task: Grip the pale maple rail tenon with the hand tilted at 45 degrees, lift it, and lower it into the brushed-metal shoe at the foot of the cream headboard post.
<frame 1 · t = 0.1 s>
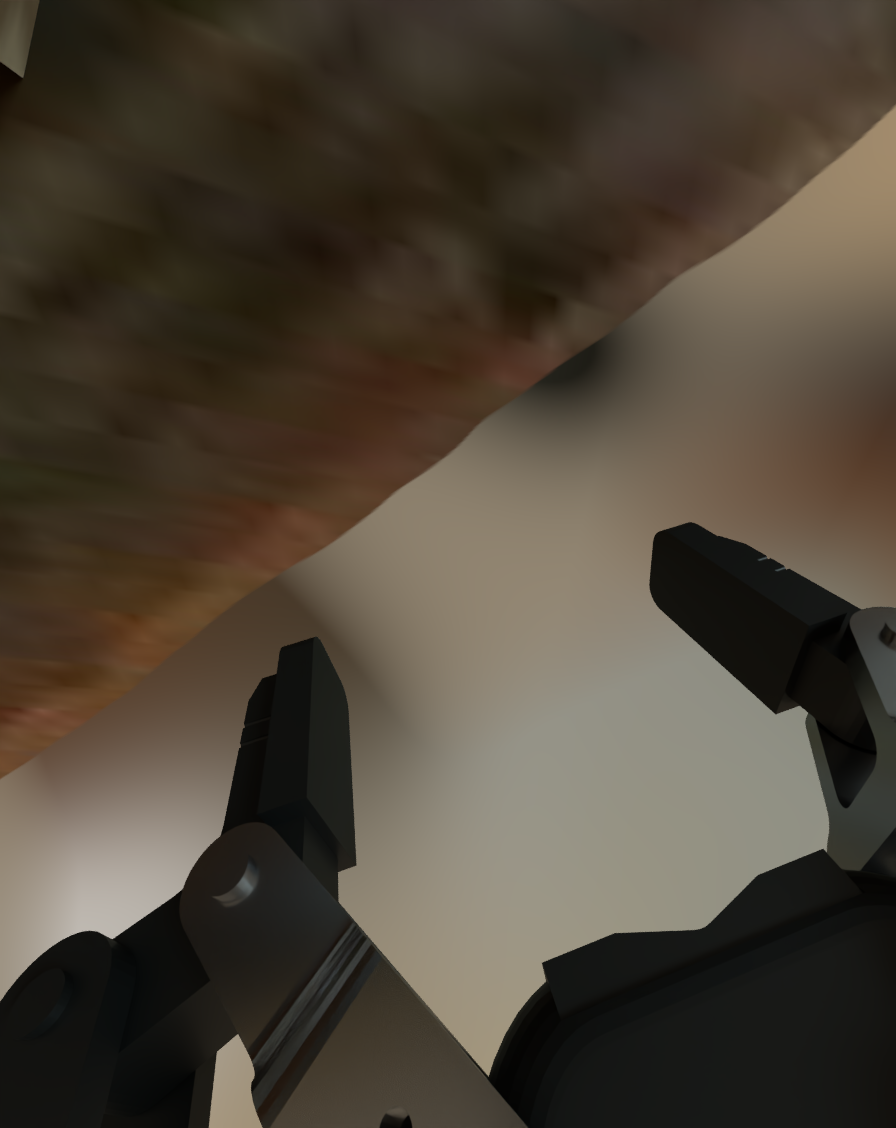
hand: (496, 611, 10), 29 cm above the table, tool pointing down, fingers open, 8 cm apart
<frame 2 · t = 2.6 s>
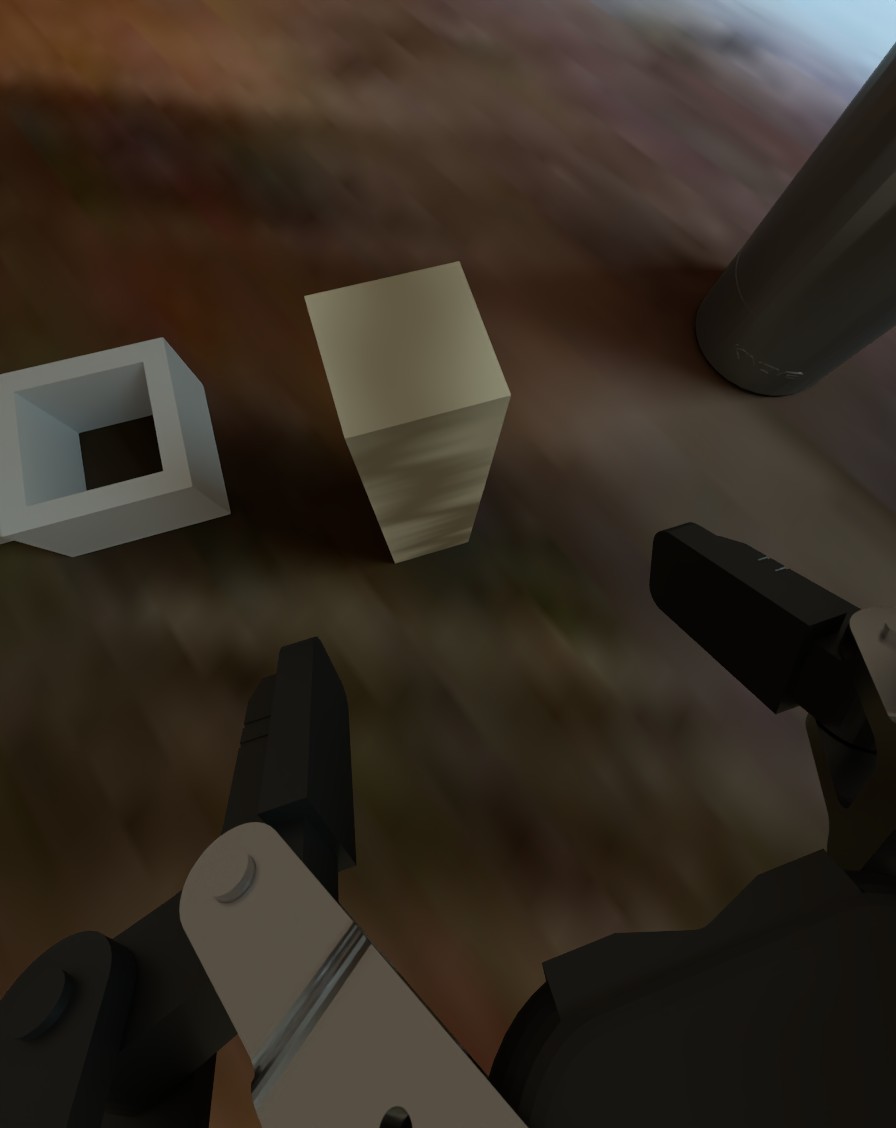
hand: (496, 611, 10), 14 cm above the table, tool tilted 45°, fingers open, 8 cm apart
headboard post: (141, 466, 25), on the table
rail tenon: (421, 517, 25), on the table
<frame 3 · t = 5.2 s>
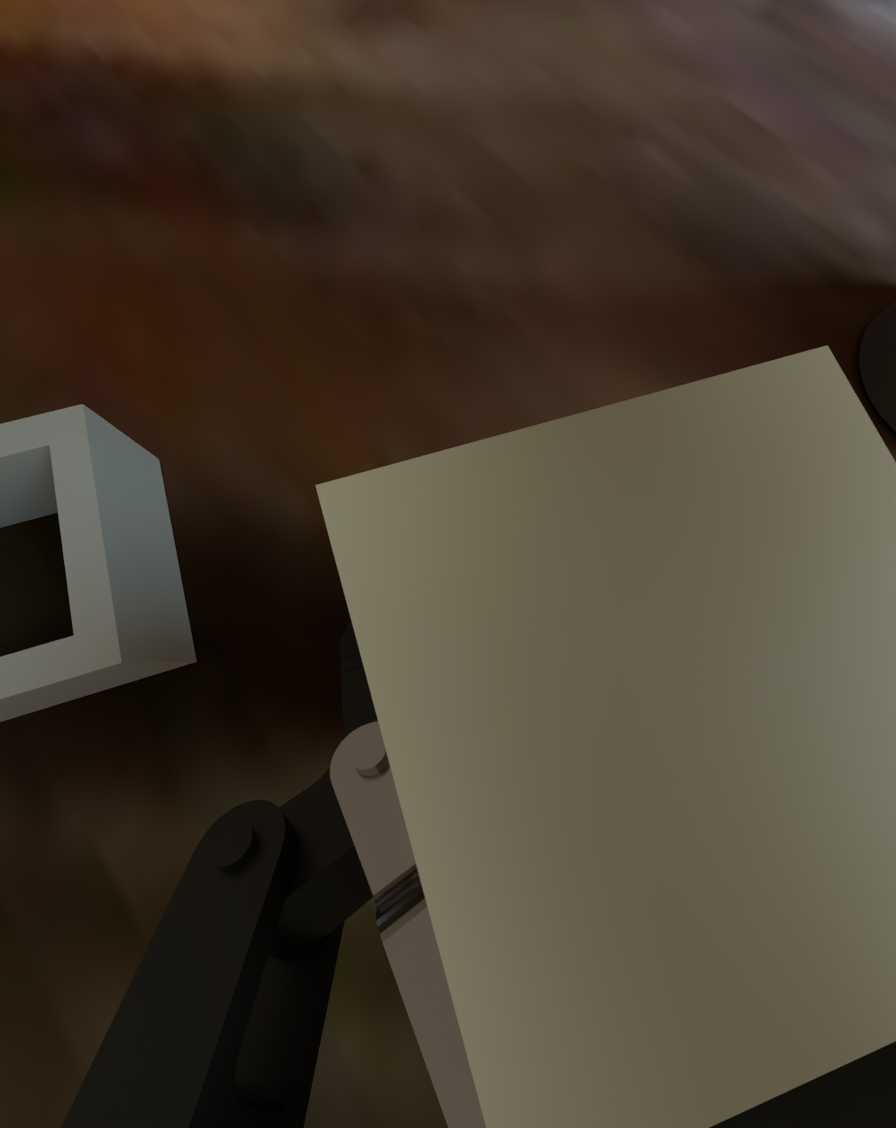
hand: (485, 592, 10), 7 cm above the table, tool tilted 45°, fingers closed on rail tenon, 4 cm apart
headboard post: (63, 587, 17), on the table
rail tenon: (481, 664, 17), on the table, touching gripper
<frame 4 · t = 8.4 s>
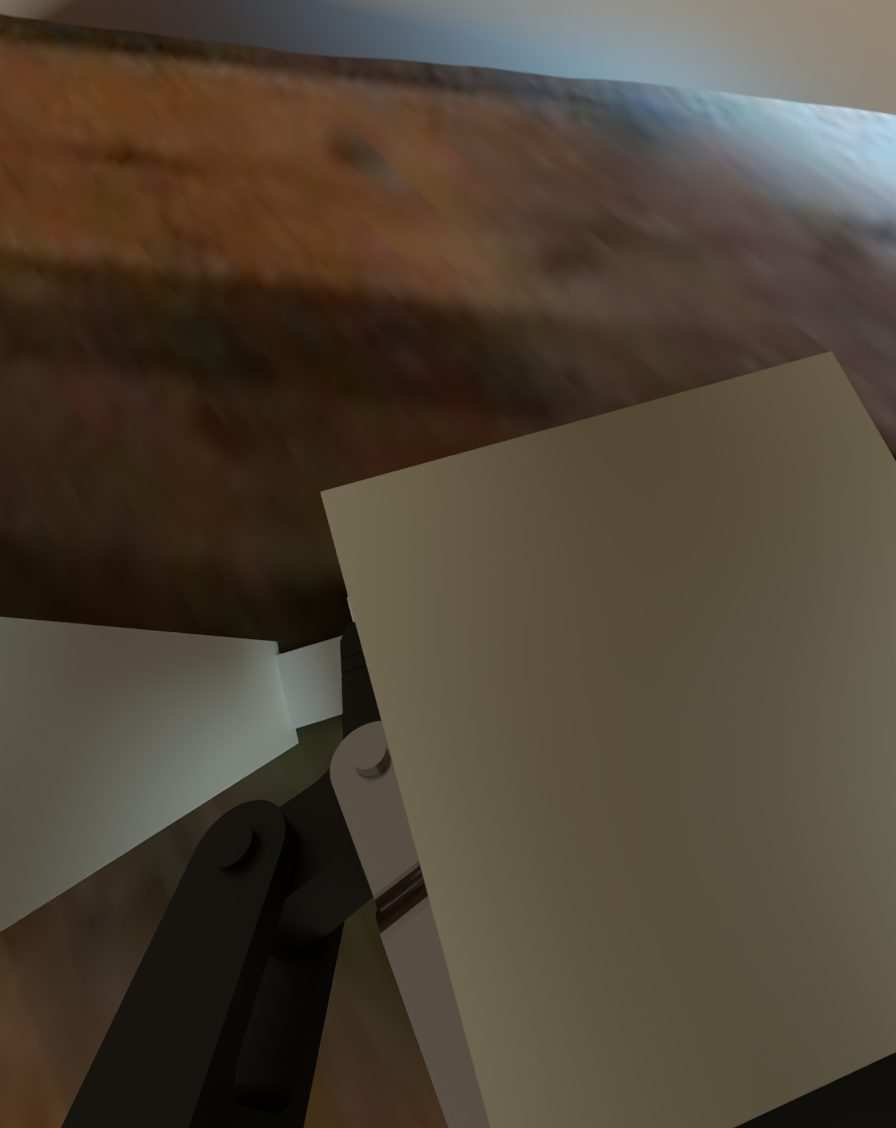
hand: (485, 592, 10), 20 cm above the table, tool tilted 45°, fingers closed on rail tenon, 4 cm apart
headboard post: (433, 646, 30), on the table
rail tenon: (482, 665, 17), point 14 cm above the table, touching gripper
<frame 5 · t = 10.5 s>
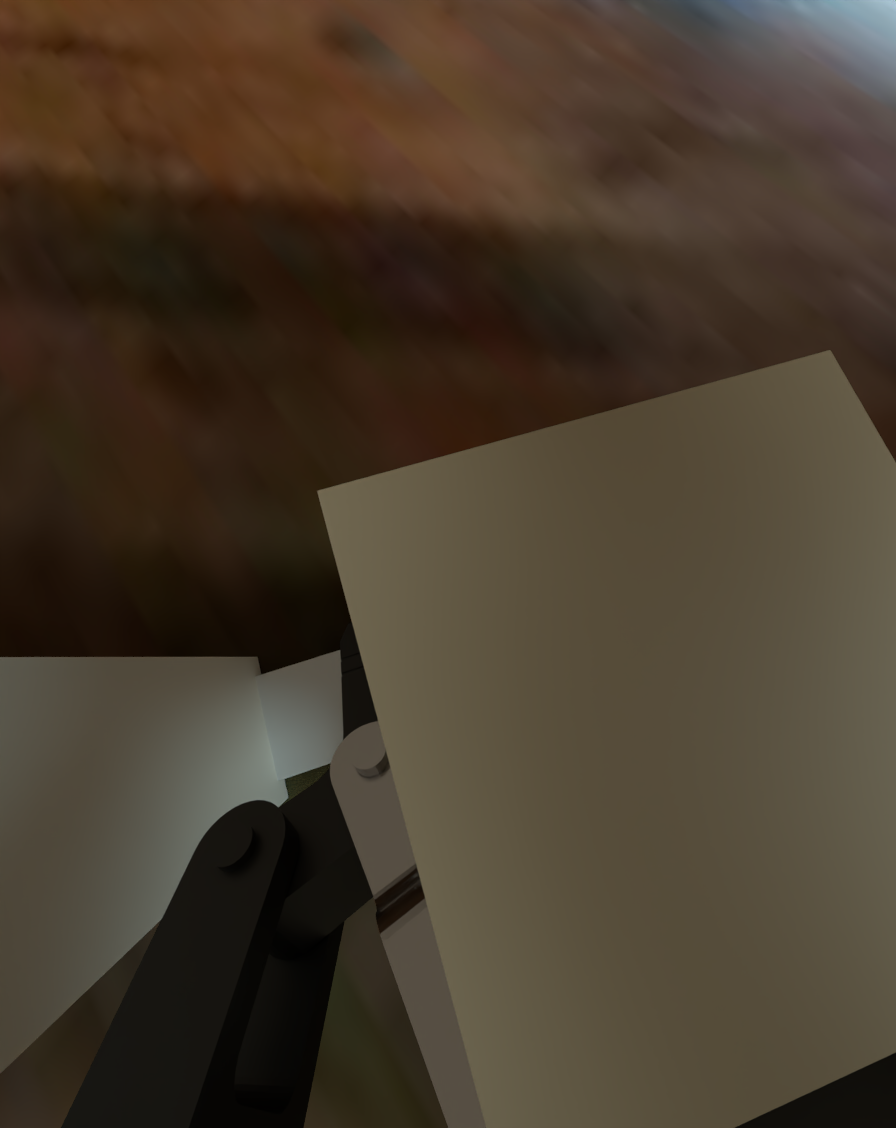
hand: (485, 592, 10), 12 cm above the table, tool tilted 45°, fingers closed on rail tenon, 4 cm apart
headboard post: (470, 660, 22), on the table
rail tenon: (482, 665, 17), point 6 cm above the table, touching gripper
when the fingers open (8 cm above the table, at t = 11.9 s): rail tenon drops 2 cm, resting in headboard post.
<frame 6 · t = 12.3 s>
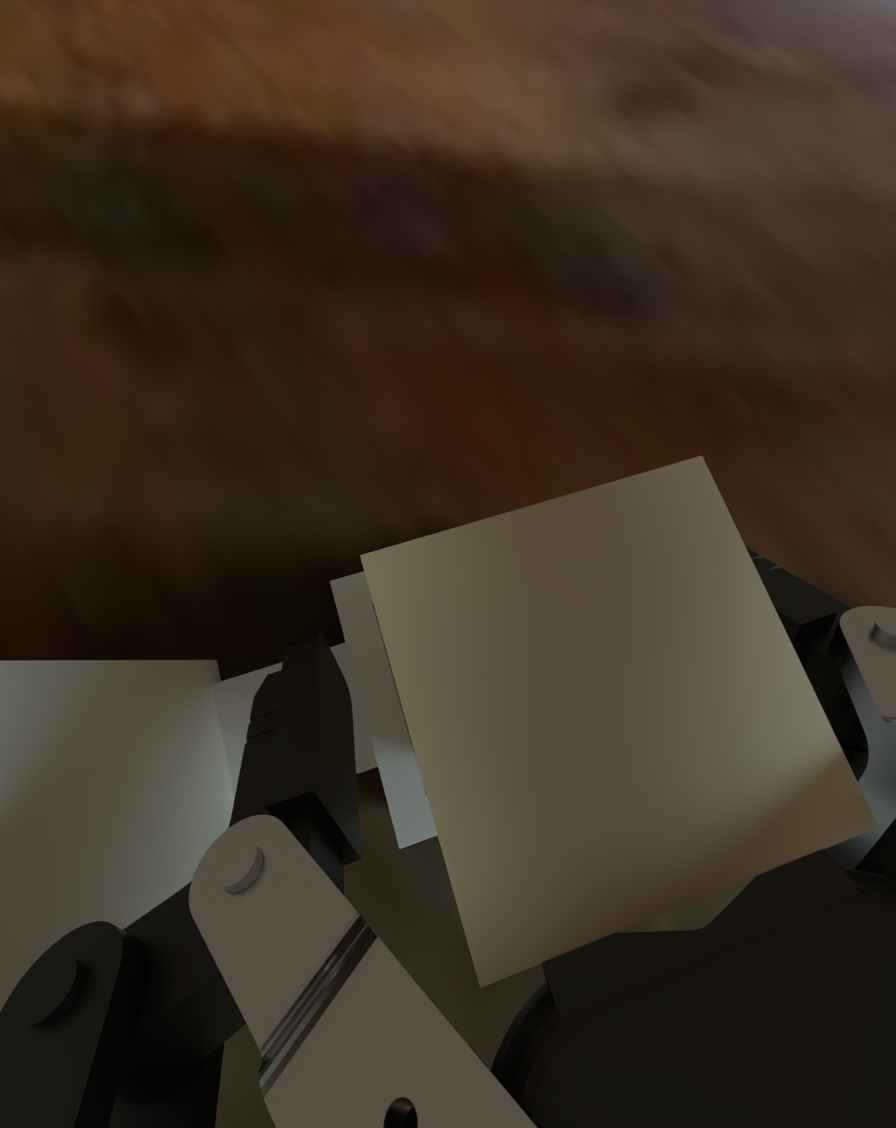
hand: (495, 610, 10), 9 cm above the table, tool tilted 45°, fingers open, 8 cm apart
headboard post: (476, 664, 18), on the table
rail tenon: (477, 665, 18), resting in headboard post
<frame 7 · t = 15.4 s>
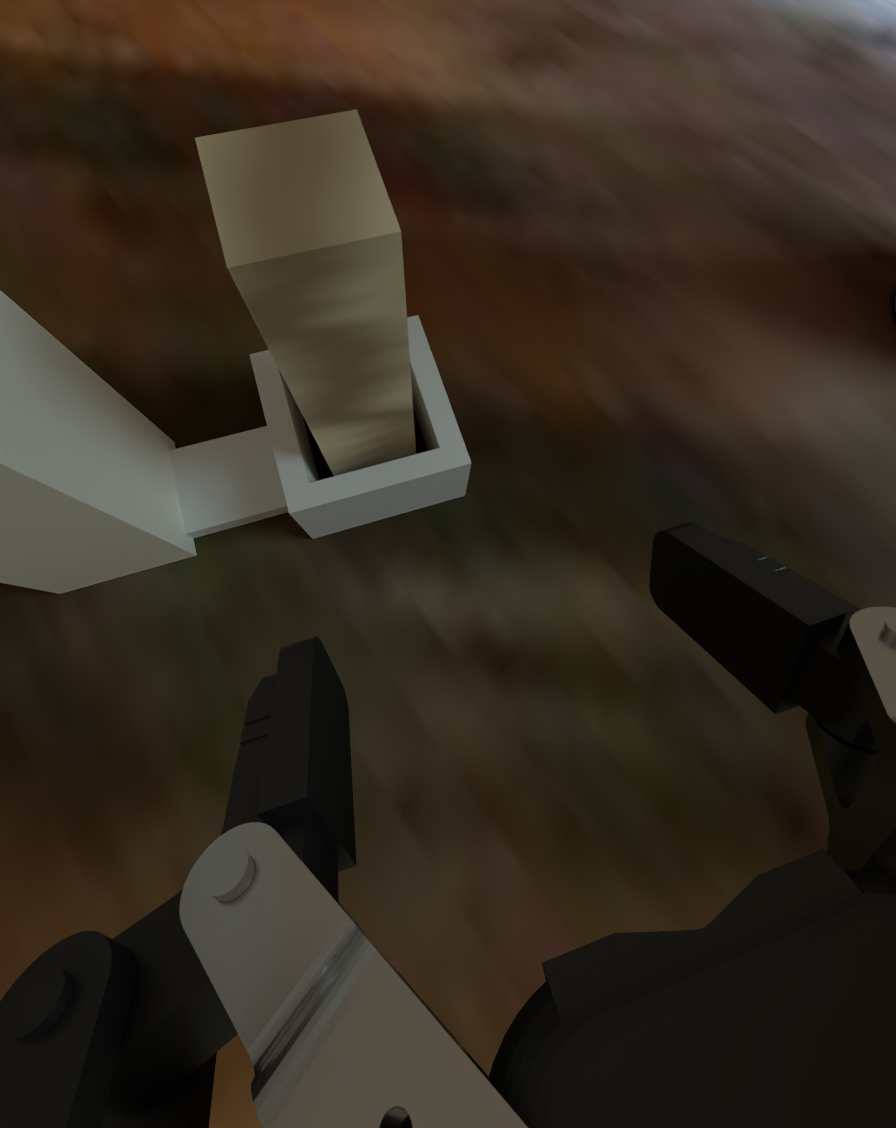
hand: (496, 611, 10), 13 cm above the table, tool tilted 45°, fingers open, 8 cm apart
headboard post: (369, 448, 25), on the table
rail tenon: (370, 449, 25), resting in headboard post
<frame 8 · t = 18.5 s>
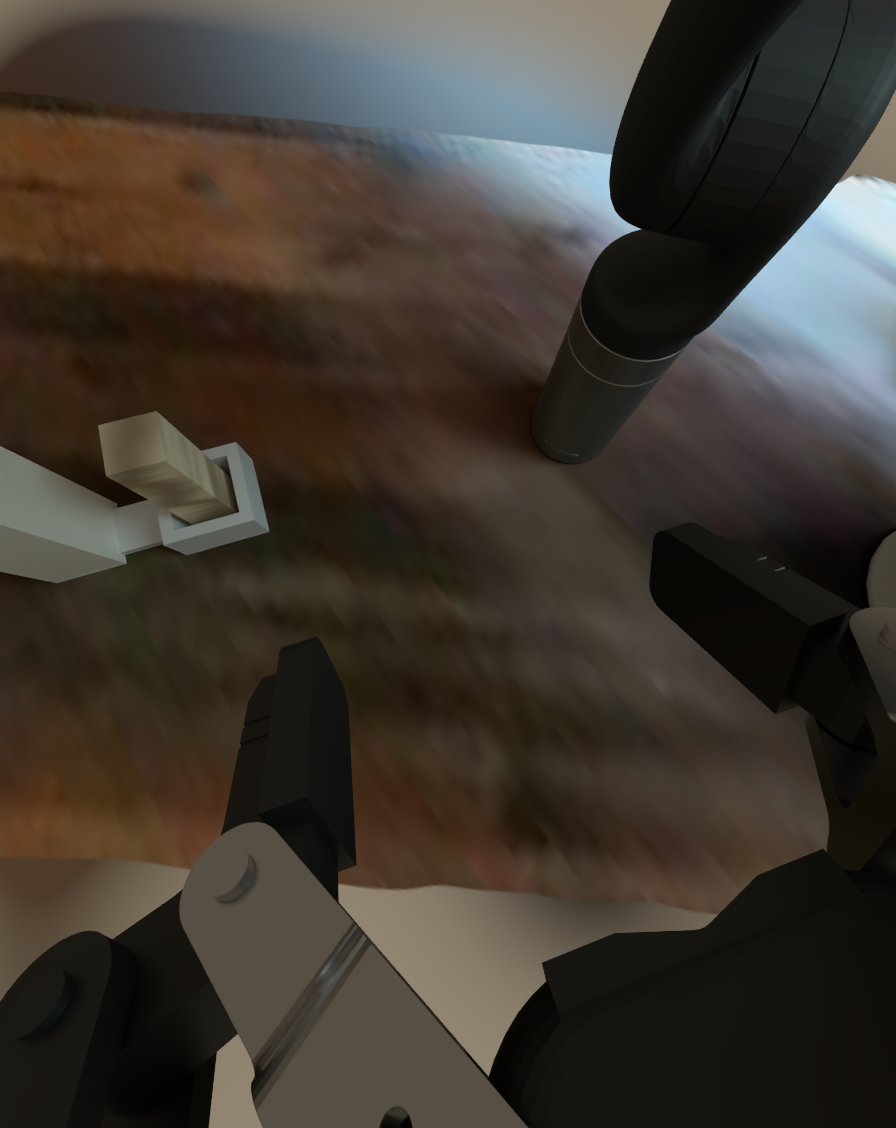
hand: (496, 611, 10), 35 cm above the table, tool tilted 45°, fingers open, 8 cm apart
headboard post: (220, 506, 46), on the table
rail tenon: (221, 506, 46), resting in headboard post
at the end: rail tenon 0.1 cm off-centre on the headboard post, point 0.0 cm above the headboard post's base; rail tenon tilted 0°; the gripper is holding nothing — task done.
